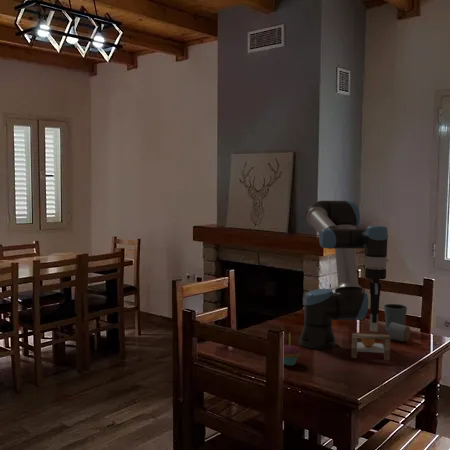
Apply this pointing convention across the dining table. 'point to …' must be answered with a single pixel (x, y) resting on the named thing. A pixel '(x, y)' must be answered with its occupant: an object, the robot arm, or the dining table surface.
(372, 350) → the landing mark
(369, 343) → the ball
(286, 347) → the cupcake
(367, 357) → the dining table surface
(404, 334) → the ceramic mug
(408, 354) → the dining table surface
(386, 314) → the grey green cup
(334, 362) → the dining table surface
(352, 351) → the bridge
